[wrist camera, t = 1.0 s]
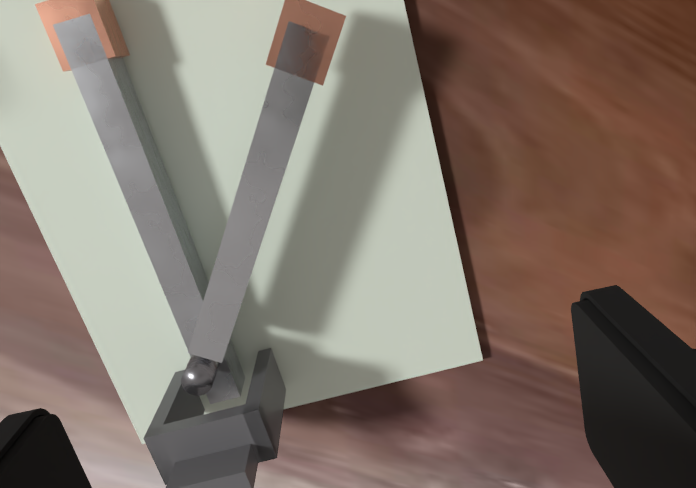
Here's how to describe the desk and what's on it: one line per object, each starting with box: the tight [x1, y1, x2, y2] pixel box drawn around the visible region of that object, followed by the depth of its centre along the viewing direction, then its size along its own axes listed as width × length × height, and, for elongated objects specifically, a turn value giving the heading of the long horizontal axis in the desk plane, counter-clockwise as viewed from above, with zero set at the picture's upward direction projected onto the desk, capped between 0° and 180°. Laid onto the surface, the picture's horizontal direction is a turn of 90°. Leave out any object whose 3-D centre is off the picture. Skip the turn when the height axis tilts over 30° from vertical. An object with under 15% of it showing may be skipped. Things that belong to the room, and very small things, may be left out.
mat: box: [0, 0, 483, 444], centre depth 32 cm, size 26×22×1 cm
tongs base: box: [35, 0, 245, 404], centre depth 29 cm, size 22×3×6 cm, turn 15°
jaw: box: [188, 0, 346, 363], centre depth 28 cm, size 18×3×2 cm, turn 160°
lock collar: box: [143, 348, 286, 488], centre depth 31 cm, size 3×6×8 cm, turn 105°
